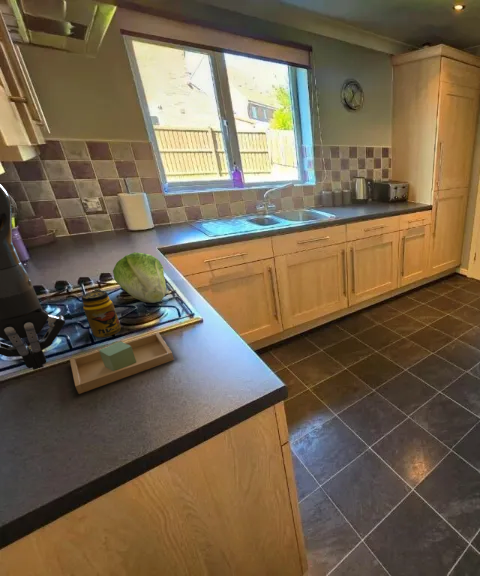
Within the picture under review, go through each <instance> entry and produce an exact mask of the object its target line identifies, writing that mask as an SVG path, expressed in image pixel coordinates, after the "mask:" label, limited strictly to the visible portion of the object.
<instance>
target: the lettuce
mask: <svg viewBox="0 0 480 576" xmlns="http://www.w3.org/2000/svg"><path fill="white" fill-rule="evenodd" d="M112 274H113V279H114V281H115V282H116V283H117V284H118V286H119V287H120V288H121V289H122V290H124V291H125V292H126V293H127V294H128V295H130V296H131V297H133V298H134V299H136V300H139V301H141V302H144V303H148V304H155V303H159V302H161V301H162V300H163V299H164V298H165V296H166V294H167V284H166V278H165V272H164V265H163V264H162V263H161V261H160V260H159V259H158V258H157V257H155V256H154V255H152V254H148V253H145V252H137V251H134V252H131V253H128V254H125V256H123V257H122V258H120V259H119V260H117V262H116V263H115V265H114V267H113V269H112Z"/></svg>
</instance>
